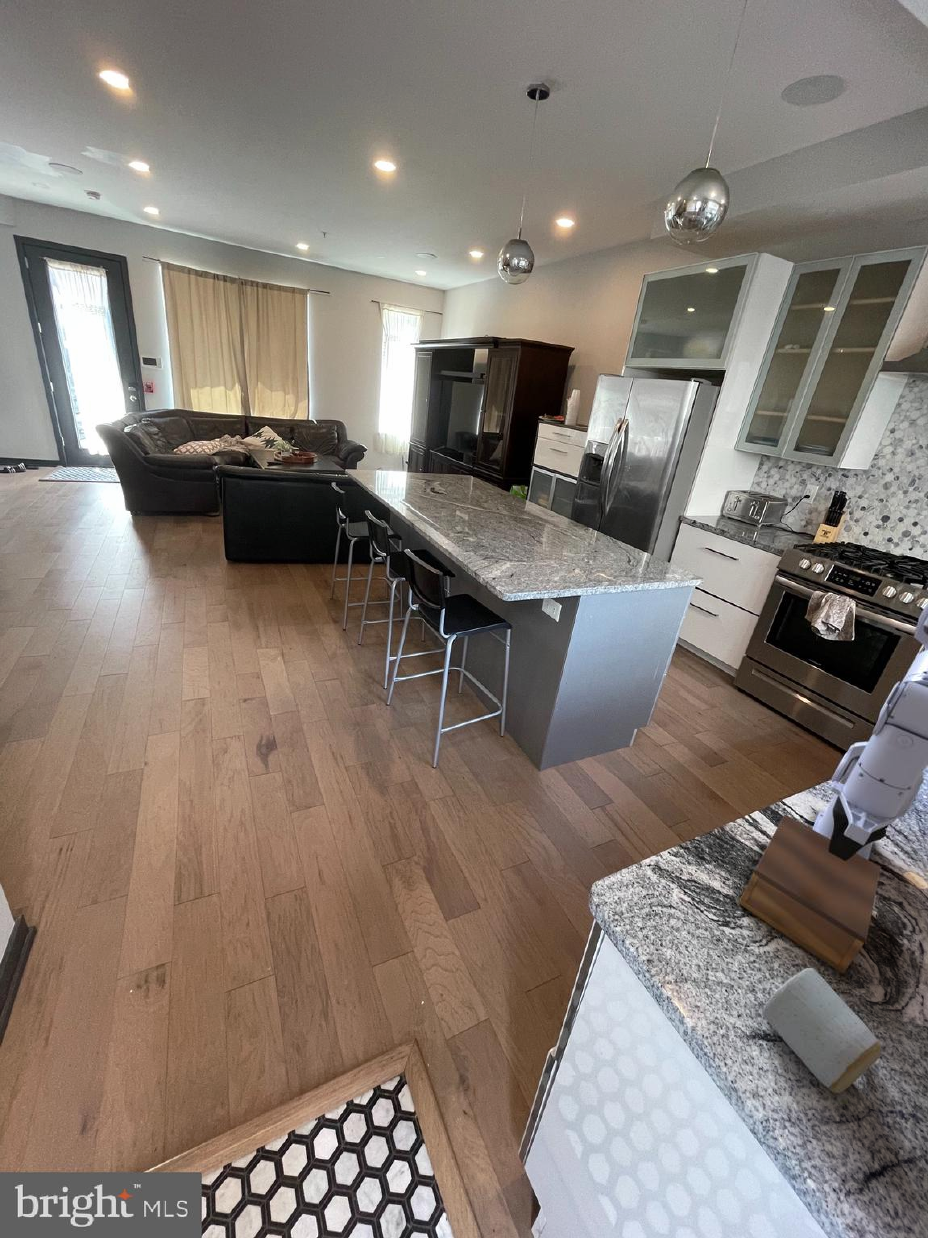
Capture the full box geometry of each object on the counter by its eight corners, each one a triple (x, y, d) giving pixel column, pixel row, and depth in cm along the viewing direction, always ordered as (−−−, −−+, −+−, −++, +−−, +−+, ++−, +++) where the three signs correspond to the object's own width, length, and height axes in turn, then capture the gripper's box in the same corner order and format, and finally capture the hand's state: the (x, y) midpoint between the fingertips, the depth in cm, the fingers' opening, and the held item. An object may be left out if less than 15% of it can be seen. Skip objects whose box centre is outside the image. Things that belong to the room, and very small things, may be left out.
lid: (782, 817, 80) (784, 814, 79) (878, 870, 72) (881, 866, 72) (753, 873, 68) (755, 869, 68) (864, 943, 61) (866, 939, 60)
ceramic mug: (826, 1112, 49) (862, 1067, 46) (751, 1024, 56) (778, 979, 53) (880, 1063, 54) (916, 1020, 51) (805, 988, 61) (833, 945, 58)
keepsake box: (767, 847, 81) (781, 819, 79) (860, 902, 74) (878, 873, 72) (738, 903, 70) (753, 873, 68) (842, 974, 63) (863, 943, 61)
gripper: (855, 736, 70) (815, 811, 75) (837, 779, 60) (792, 862, 65) (919, 763, 66) (871, 841, 71) (911, 815, 55) (856, 901, 61)
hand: (837, 854), depth 68 cm, fingers closed
